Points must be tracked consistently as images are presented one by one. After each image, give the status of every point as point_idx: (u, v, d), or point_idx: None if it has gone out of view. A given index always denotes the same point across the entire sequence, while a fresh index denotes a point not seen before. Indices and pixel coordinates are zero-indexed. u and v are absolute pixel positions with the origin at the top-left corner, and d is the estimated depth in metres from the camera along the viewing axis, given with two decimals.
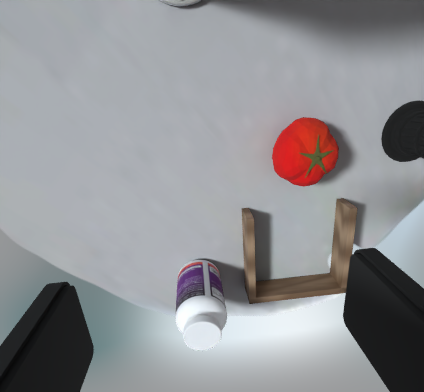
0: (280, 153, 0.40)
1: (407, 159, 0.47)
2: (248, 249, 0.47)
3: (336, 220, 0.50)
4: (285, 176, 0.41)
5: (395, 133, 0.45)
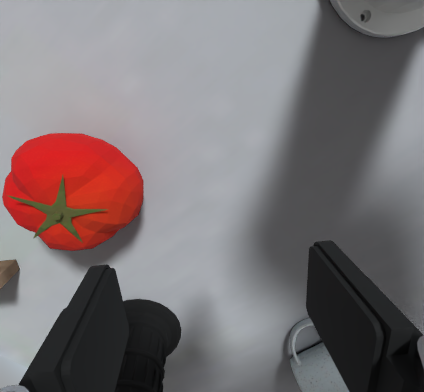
0: (64, 142, 0.19)
1: None
2: None
3: None
4: (13, 157, 0.19)
5: (134, 317, 0.31)
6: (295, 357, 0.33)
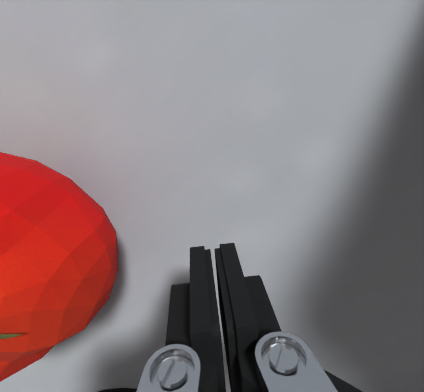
0: None
1: None
2: None
3: None
4: None
5: None
6: None
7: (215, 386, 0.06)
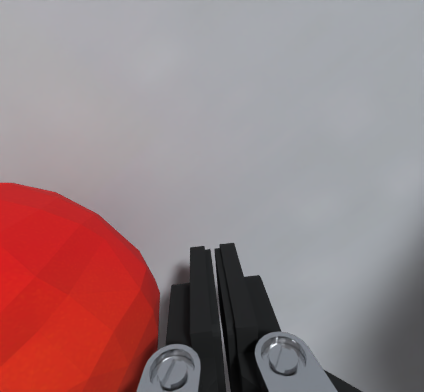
0: None
1: None
2: None
3: None
4: None
5: None
6: None
7: (215, 386, 0.06)
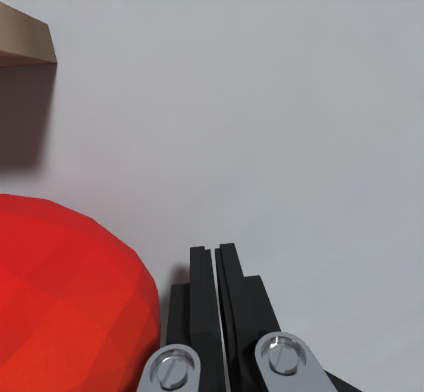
0: None
1: None
2: None
3: None
4: None
5: None
6: None
7: (215, 386, 0.06)
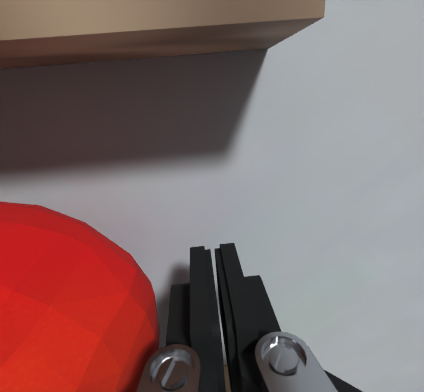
0: None
1: None
2: None
3: None
4: None
5: None
6: None
7: (215, 386, 0.06)
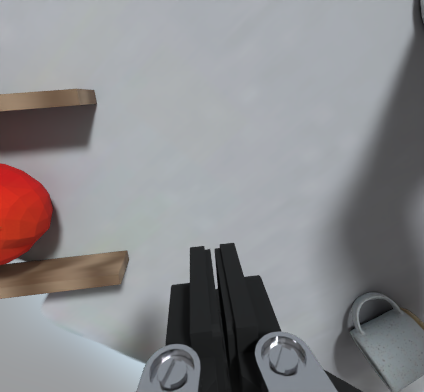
0: None
1: None
2: (1, 96, 0.21)
3: (89, 257, 0.31)
4: None
5: None
6: (359, 327, 0.36)
7: (215, 386, 0.06)
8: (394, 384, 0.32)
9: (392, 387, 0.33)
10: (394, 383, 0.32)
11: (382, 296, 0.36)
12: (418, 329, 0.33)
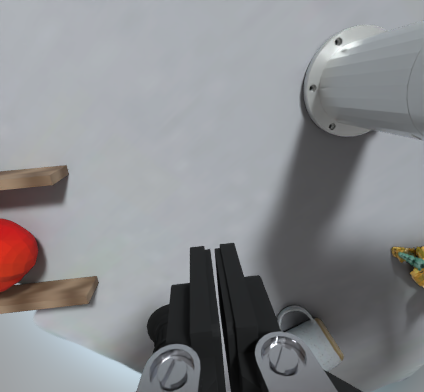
0: None
1: (150, 332, 0.45)
2: None
3: (68, 281, 0.41)
4: None
5: None
6: None
7: (215, 386, 0.06)
8: None
9: None
10: None
11: (299, 309, 0.45)
12: (322, 336, 0.42)
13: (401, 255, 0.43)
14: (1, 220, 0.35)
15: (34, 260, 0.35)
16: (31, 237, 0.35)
